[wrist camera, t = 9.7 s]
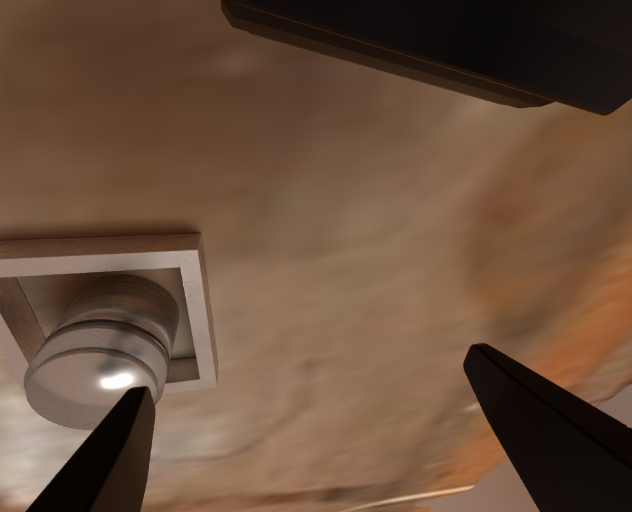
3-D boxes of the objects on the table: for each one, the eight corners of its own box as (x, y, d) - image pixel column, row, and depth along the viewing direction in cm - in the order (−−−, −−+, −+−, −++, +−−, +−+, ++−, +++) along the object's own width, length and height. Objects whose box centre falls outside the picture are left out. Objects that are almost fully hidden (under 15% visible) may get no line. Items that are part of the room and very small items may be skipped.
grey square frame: (200, 233, 19) (197, 250, 17) (218, 364, 24) (217, 386, 23) (-40, 242, 16) (-72, 262, 15) (40, 385, 22) (24, 412, 20)
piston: (172, 271, 20) (151, 342, 15) (186, 343, 23) (172, 423, 18) (58, 277, 18) (-9, 358, 13) (88, 353, 22) (43, 442, 16)
